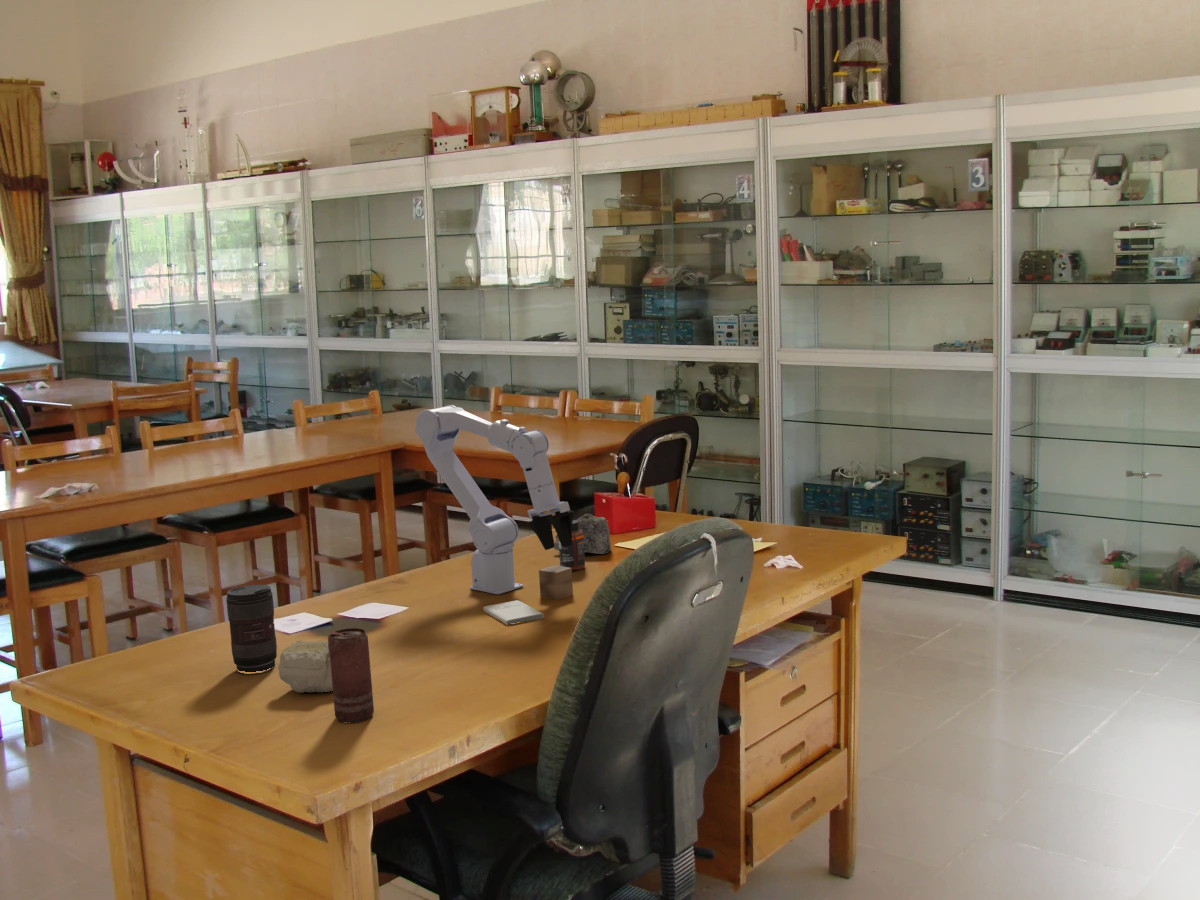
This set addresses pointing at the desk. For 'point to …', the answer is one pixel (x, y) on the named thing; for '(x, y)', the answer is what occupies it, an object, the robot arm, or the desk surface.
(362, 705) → the can
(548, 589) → the walnut block
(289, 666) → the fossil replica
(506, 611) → the external hard drive
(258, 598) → the camera lens
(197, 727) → the desk surface
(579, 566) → the supplement bottle
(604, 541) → the mineral rock
